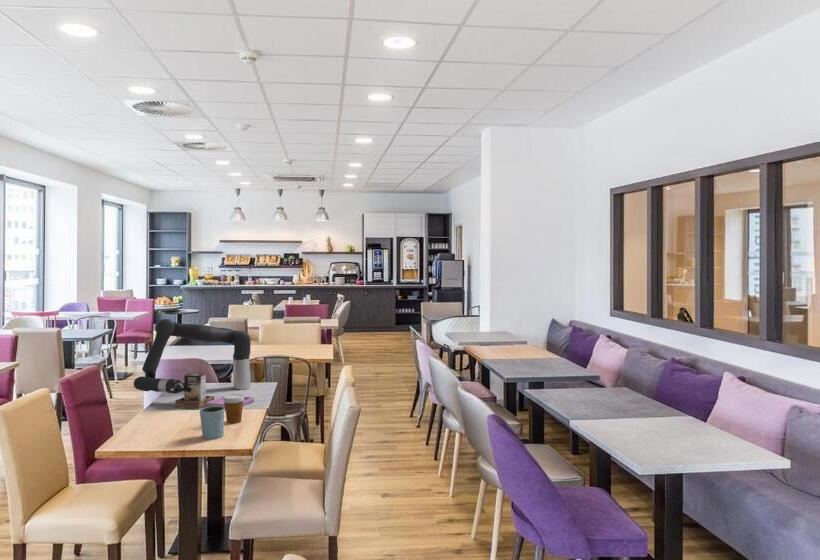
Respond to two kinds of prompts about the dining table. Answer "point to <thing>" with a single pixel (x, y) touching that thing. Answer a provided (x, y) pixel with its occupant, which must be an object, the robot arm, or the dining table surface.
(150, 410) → the dining table surface
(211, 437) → the teal cup
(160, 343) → the robot arm
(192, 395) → the coffee box
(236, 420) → the disposable coffee cup
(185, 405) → the holder
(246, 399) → the tray
